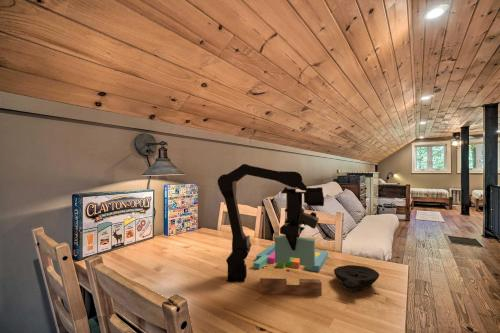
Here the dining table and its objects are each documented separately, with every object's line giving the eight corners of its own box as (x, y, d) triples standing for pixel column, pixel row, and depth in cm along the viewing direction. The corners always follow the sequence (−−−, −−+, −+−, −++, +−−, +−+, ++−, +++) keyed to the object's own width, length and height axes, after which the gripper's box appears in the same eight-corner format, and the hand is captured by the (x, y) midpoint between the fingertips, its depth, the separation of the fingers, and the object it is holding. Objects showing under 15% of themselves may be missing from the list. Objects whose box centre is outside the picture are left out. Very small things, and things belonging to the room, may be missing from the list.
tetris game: (272, 249, 127) (247, 268, 102) (272, 243, 127) (247, 261, 102) (328, 257, 114) (314, 281, 89) (328, 251, 114) (314, 274, 89)
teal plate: (275, 261, 89) (274, 237, 89) (277, 258, 92) (277, 235, 92) (314, 267, 84) (313, 240, 84) (315, 263, 86) (314, 238, 87)
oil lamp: (324, 292, 80) (324, 277, 80) (339, 272, 96) (339, 259, 96) (374, 306, 71) (373, 289, 72) (382, 281, 88) (381, 267, 88)
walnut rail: (259, 293, 79) (259, 281, 79) (260, 290, 82) (260, 278, 82) (321, 295, 78) (321, 282, 78) (320, 291, 80) (319, 279, 81)
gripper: (313, 211, 76) (314, 260, 76) (319, 203, 94) (320, 244, 93) (279, 209, 81) (279, 256, 80) (291, 202, 98) (291, 241, 98)
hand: (294, 248), depth 88 cm, fingers closed on teal plate, 3 cm apart
